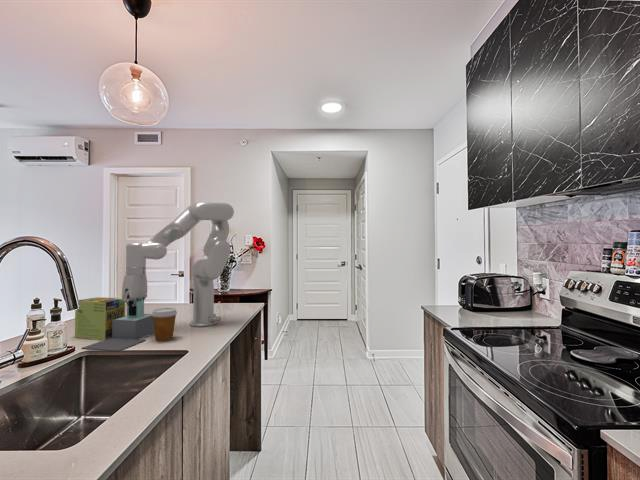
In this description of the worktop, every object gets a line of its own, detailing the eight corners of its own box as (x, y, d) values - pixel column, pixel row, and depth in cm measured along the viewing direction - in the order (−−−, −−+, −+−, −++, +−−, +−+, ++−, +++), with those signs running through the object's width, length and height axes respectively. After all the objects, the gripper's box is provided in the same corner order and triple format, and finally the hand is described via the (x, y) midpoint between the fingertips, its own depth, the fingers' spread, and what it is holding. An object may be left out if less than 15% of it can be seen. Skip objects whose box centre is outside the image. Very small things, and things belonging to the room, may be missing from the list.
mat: (146, 340, 133) (146, 339, 133) (119, 351, 119) (119, 350, 119) (111, 338, 136) (111, 337, 136) (81, 348, 122) (81, 347, 122)
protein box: (105, 340, 134) (105, 302, 134) (74, 338, 137) (74, 300, 137) (125, 333, 144) (125, 297, 144) (95, 331, 147) (96, 296, 147)
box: (156, 331, 146) (157, 314, 146) (135, 340, 133) (135, 321, 133) (135, 330, 148) (135, 313, 148) (111, 338, 135) (112, 319, 135)
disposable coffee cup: (182, 337, 137) (182, 308, 137) (162, 344, 129) (162, 313, 129) (165, 335, 141) (166, 307, 141) (145, 340, 133) (146, 311, 133)
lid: (154, 316, 146) (154, 298, 146) (135, 322, 134) (135, 303, 134) (135, 315, 147) (135, 298, 148) (114, 321, 136) (115, 302, 136)
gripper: (141, 270, 150) (141, 310, 150) (113, 273, 134) (112, 318, 134) (156, 270, 148) (155, 311, 148) (129, 273, 132) (128, 319, 132)
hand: (135, 314), depth 141 cm, fingers closed on lid, 2 cm apart
